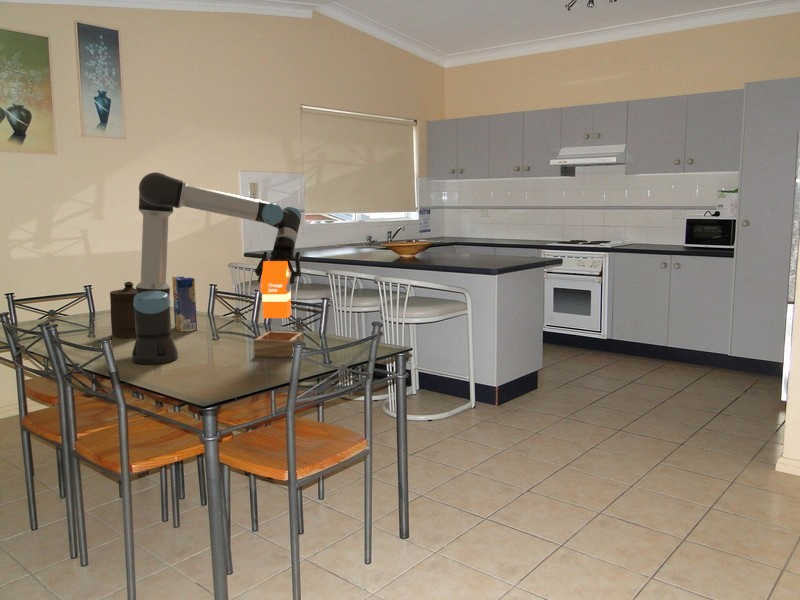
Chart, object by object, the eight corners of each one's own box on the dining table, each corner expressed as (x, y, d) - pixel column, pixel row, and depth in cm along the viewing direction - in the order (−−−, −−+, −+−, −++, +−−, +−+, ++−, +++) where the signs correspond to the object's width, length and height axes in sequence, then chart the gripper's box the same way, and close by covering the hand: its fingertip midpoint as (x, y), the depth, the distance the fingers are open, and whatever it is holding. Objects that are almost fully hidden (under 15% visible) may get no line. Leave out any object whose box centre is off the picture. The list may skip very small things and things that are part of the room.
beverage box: (191, 326, 295) (188, 276, 291) (197, 330, 285) (194, 278, 282) (175, 327, 291) (172, 277, 288) (180, 332, 282) (177, 279, 278)
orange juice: (287, 318, 240) (285, 262, 237) (263, 318, 240) (260, 262, 237) (291, 314, 248) (289, 260, 245) (267, 314, 248) (265, 260, 245)
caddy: (292, 357, 238) (292, 341, 237) (254, 356, 240) (253, 340, 239) (304, 348, 253) (303, 332, 252) (268, 347, 254) (267, 331, 253)
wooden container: (156, 331, 284) (153, 279, 280) (142, 338, 269) (138, 284, 266) (121, 331, 284) (118, 279, 281) (105, 338, 270) (101, 284, 266)
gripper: (315, 248, 254) (306, 297, 241) (259, 248, 257) (247, 296, 244) (311, 235, 248) (301, 284, 235) (254, 235, 251) (241, 283, 238)
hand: (273, 290), depth 240 cm, fingers closed on orange juice, 9 cm apart
